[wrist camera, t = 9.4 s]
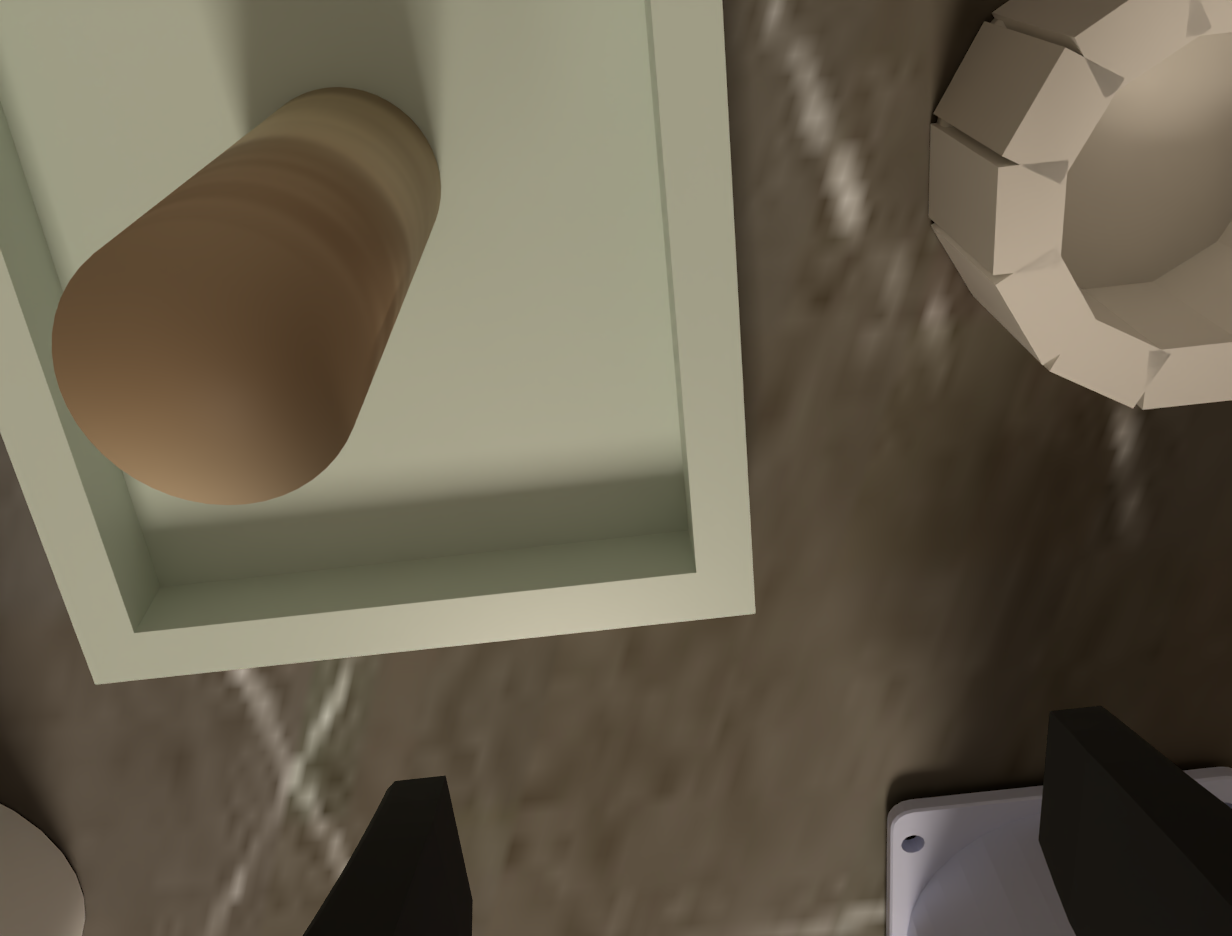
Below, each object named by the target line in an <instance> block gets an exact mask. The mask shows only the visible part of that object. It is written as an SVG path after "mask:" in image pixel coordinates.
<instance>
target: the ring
mask: <svg viewBox="0 0 1232 936" xmlns="http://www.w3.org/2000/svg"><path fill="white" fill-rule="evenodd" d="M992 14H993V16H994V19H993V20H992V21H991V22H990V23H989V22H986V21H984V22H983V24H982V26H981V28H980V30H979V31H978V33H977V35H976V37H975V39H974V41H973V42H972V44H971V46H970V48H969V50H968V51H967V53H966V55H965V57H964V59H963V61H962V62H961V64H960V66H959V68H958V70H957V71H956V73H955V75H954V77H953V79H952V80H951V82H950V84H949V86H948V88H947V90H946V91H945V93H944V95H943V97H942V99H941V100H940V102H939V104H938V106H937V108H936V110H935V111H934V113H933V114H935V115H936V116H938V119H937V123H931V124H930V168H929V212H928V217H929V218H930V219H931V220H932V221H934V222H935V223H933V224H932V225H931V227H932V229H933V230H934V232H935V234H936V235H937V237H938V239H939V240H940V242H941V244H942V245H943V247H944V249H945V250H946V252H947V254H948V255H949V257H950V259H951V260H952V262H953V264H954V265H955V267H956V269H957V270H958V272H959V273H960V275H961V277H962V278H963V280H964V282H965V283H966V285H967V287H968V288H969V290H970V292H971V293H972V295H973V296H974V297H975V298H976V299H977V300H978V301H979V302H980V303H981V304H982V305H983V306H984V307H985V308H986V309H987V310H988V311H989V312H990V313H991V314H992V315H993V316H994V317H995V318H996V319H997V320H998V321H999V322H1000V323H1001V324H1002V325H1003V326H1004V327H1005V328H1006V329H1007V330H1008V331H1009V332H1010V333H1011V334H1012V335H1013V336H1014V337H1015V338H1016V339H1017V340H1018V341H1019V342H1020V343H1021V344H1022V345H1023V346H1024V347H1025V348H1026V349H1027V350H1028V351H1029V352H1030V353H1031V354H1032V355H1033V356H1034V357H1035V358H1036V359H1037V360H1038V361H1039V362H1040V363H1041V364H1042V365H1044V366H1045V367H1046V368H1047V369H1048V370H1049V371H1050V372H1052V373H1054V374H1057V375H1059V376H1061V377H1063V378H1066V379H1068V380H1070V381H1072V382H1075V383H1077V384H1079V385H1081V386H1084V387H1086V388H1088V389H1090V390H1093V391H1095V392H1097V393H1099V394H1102V395H1104V396H1106V397H1108V398H1111V399H1113V400H1115V401H1117V402H1120V403H1122V404H1124V405H1126V406H1129V407H1131V408H1134V406H1135V405H1136V404H1137V405H1138V406H1139V407H1140V408H1141V409H1142V410H1146V409H1155V408H1164V407H1173V406H1183V405H1192V404H1201V403H1210V402H1220V401H1229V400H1232V0H1009V1H1008V2H1006V3H1005V4H1003V5H1002V6H1000V7H999V8H998V9H996V10H995V11H993V12H992Z"/></svg>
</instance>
